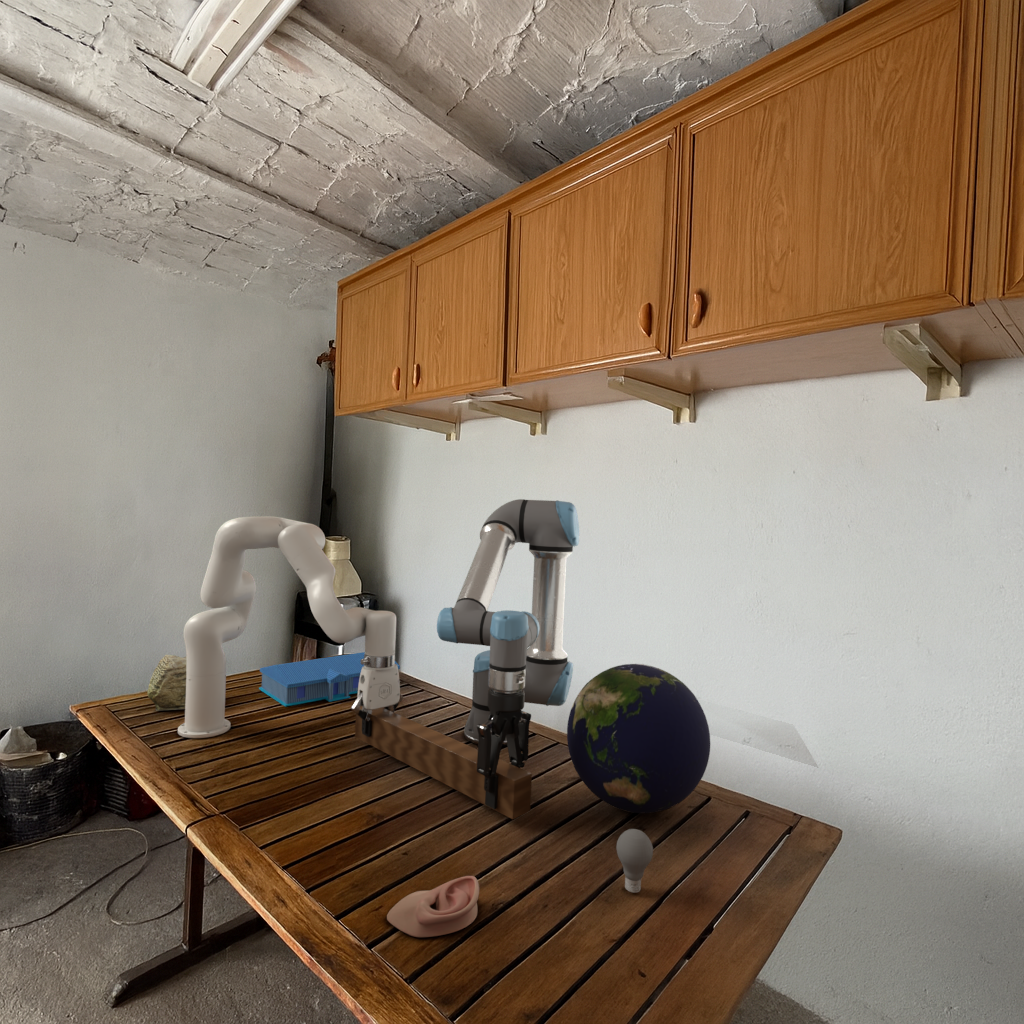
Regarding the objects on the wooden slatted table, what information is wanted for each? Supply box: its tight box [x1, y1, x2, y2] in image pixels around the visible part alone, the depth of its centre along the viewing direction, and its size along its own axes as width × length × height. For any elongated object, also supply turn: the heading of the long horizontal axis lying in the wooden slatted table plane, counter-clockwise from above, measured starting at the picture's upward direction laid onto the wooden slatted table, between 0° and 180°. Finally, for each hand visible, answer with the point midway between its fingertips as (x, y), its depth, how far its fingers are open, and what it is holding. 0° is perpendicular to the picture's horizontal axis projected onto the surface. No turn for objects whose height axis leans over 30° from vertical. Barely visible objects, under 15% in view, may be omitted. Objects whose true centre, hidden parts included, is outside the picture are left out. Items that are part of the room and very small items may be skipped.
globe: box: [566, 663, 711, 814], centre depth 135 cm, size 30×30×30 cm
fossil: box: [147, 654, 187, 712], centre depth 185 cm, size 9×18×15 cm, turn 132°
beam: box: [354, 706, 533, 820], centre depth 144 cm, size 56×5×8 cm, turn 46°
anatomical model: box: [386, 875, 480, 938], centre depth 98 cm, size 13×4×12 cm
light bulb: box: [615, 828, 654, 894], centre depth 106 cm, size 6×6×10 cm
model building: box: [258, 651, 401, 707], centre depth 208 cm, size 39×24×10 cm, turn 132°
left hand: (376, 731), depth 160 cm, fingers closed on beam, 5 cm apart
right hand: (501, 801), depth 129 cm, fingers closed on beam, 5 cm apart
